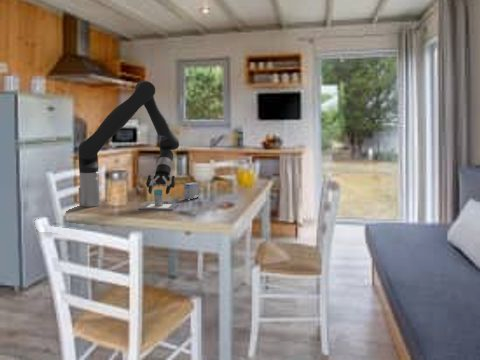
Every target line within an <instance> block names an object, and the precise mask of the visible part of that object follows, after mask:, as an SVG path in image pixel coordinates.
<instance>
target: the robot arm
mask: <svg viewBox="0 0 480 360" xmlns="http://www.w3.org/2000/svg"><path fill="white" fill-rule="evenodd" d="M155 94H156V87H155V84H154V83H153V82H151V81H148V80H140V81H138V82H137V83H136V84H135V87H134V92H133V93H131V95H130V96H129V97H128V98H127V99H126V100H125V101H123V102H122V103H120V104H118V106H115V108H114V109H113V110H111V111H110V113H109V114H108V115H107V116H106V117H105V118H104V119H103V121H102V122H101V124H100V125H99V126H98V127H97V129H96V130H95V131H94V133H92V134H91V135H90V136H89V137H88V138H86V139H85V140H83V141H82V142H80V144H78V149H77V152H78V168H79V169H78V171H79V187H78V201H79V203H78V206H79V207H84V208H85V207H86V208H92V207H98V206H100V204H101V203H100V201H101V199H100V179H99V178H100V177H99V174H100V173H99V160H98V158H99V155H98V153H99V152H100V150H101V149H102V148H103V147H104V145H105V144H106V143H107V142H108V141H109V140H111V139H112V138H113V137H114V136H115V135H116V134H117V133H118V132H119V131H121V130H122V128H124V126H125V125H126V124H127V123H129V121H130V120H131V119H132V118H133V117H134V115H135V114H136V113H137V112H138V111H139V109H141V108H142V107H143V106H144V108H145V110H146V112H147V114H148V116H149V118H150V121H151V122H152V125H153V127H154V130H155V131H156V134H157V135H158V136H159V137H165V138H163V139H160V142H159V143H158V146H159V157H158V161H157V163H156V164H157V165H156V169H155V173H154V176H153V175H150V174H148V176H147V179H146V182H145V186H146V187H147V188H148V193H149V195H151V194H152V193H153V189H154V187H156V186H158V185H162V186H163V185H166V189H165V194H166V195H169V194H170V192H171V189H174V188H175V186H176V185H175V184H176V177H175V175H172V176H171V172H172V168H173V167H172V166H173V161H174V153H173V150H177V149H178V148H179V147H180V141H179V139H178V137H177V136H176V135H175V134H174V133H173V131H172V130H171V129H170V127H169V124H168V122H167V120H166V118H165V116H164V114H163V113H162V111H161V110H160V108H159V106H158V105H157V102H156V100H155V97H154V96H155ZM169 181H171V182H170V183H169Z"/></svg>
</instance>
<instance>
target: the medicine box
mask: <svg viewBox="0 0 480 360" xmlns="http://www.w3.org/2000/svg"><path fill="white" fill-rule="evenodd" d="M195 195H199V196H200V183H198V182H189V183H184V184H183V199H184V200H185V199H192V198H193V197H194V196H195Z"/></svg>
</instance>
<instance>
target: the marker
mask: <svg viewBox="0 0 480 360" xmlns="http://www.w3.org/2000/svg"><path fill="white" fill-rule="evenodd" d="M153 194H154V198H153V199H154V204H155V206H156V207H160V206H163V204H164V202H163V189H154V190H153Z"/></svg>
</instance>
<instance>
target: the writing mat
mask: <svg viewBox="0 0 480 360" xmlns="http://www.w3.org/2000/svg"><path fill="white" fill-rule="evenodd" d="M178 207H179V204H178V203H163V206H160V207H156V206H155V203H149V202H148V203H145V204H143V205H142V206H140V207H139V208H138V210H140V211H141V210H142V211H143V210H144V211H147V210H148V211H174V210H175V209H176V208H178ZM174 208H175V209H174ZM173 209H174V210H173Z"/></svg>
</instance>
